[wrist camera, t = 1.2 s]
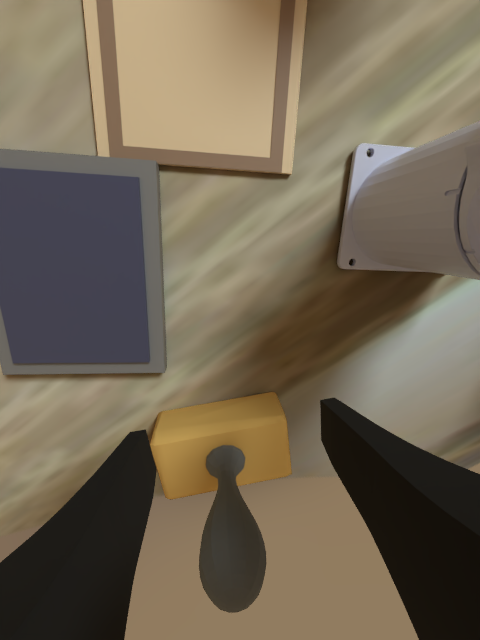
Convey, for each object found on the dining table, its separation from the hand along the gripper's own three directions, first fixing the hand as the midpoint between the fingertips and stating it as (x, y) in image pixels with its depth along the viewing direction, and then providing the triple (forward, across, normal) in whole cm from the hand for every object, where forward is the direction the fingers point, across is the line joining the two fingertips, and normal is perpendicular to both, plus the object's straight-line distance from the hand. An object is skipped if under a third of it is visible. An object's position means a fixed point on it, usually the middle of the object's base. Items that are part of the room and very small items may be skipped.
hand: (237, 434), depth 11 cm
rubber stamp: (+11, +1, +8) cm, 14 cm away
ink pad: (+10, +9, -6) cm, 15 cm away
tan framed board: (+10, -1, -19) cm, 22 cm away
